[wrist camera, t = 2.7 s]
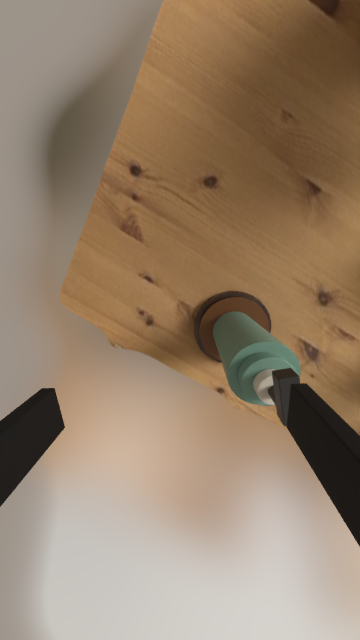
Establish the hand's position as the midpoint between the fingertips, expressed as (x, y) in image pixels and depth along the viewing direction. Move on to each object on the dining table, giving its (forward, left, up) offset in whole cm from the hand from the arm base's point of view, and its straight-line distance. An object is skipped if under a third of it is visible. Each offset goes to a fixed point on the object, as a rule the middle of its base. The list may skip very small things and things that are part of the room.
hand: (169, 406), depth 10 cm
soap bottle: (+8, +5, -23) cm, 25 cm away
